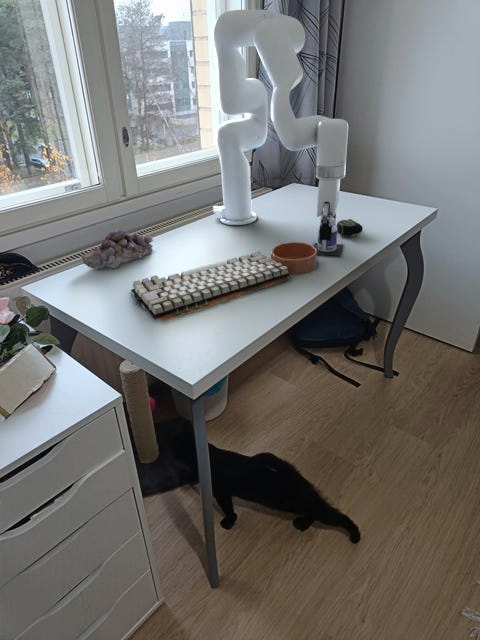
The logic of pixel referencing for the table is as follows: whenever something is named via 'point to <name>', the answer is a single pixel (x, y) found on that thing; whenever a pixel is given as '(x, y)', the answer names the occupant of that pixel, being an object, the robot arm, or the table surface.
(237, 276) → the mechanical keyboard
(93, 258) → the mineral specimen
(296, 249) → the bowl
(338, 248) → the coaster
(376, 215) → the table surface
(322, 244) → the pill bottle
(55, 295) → the table surface
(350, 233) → the tape measure
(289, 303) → the table surface
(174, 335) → the table surface
